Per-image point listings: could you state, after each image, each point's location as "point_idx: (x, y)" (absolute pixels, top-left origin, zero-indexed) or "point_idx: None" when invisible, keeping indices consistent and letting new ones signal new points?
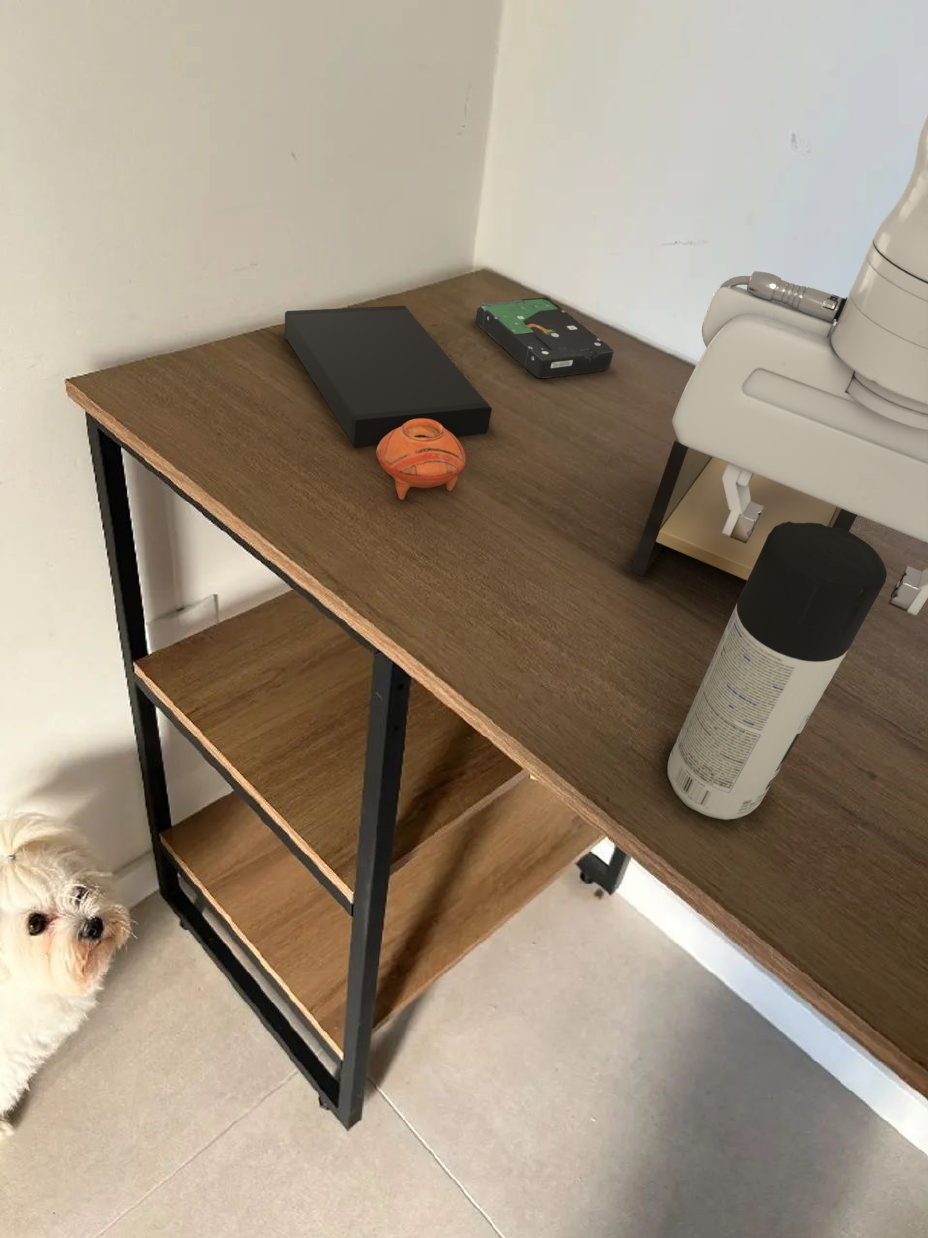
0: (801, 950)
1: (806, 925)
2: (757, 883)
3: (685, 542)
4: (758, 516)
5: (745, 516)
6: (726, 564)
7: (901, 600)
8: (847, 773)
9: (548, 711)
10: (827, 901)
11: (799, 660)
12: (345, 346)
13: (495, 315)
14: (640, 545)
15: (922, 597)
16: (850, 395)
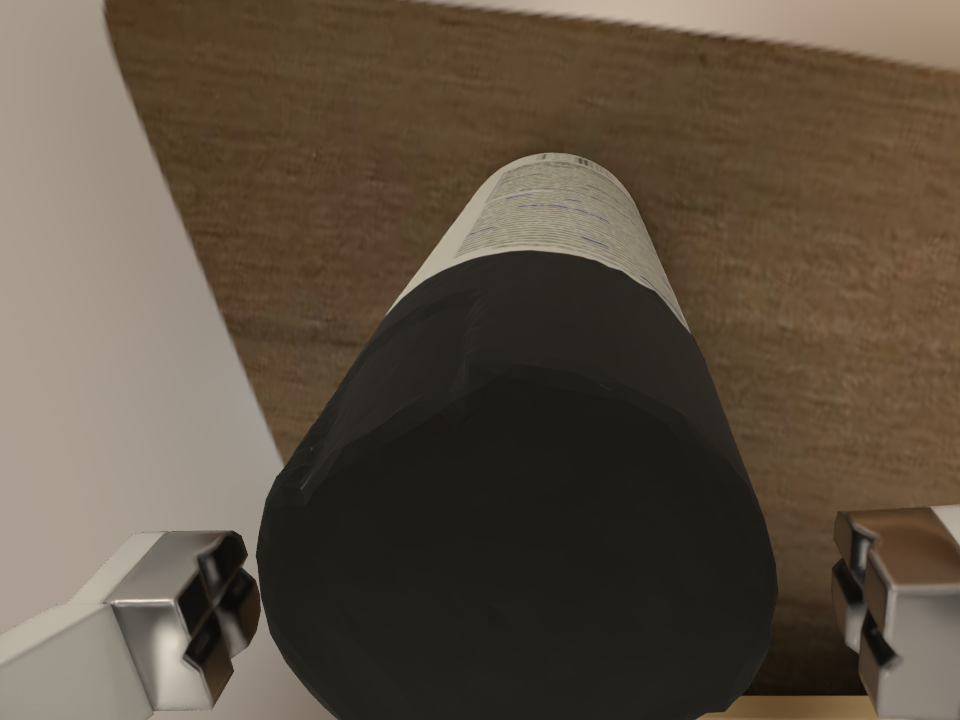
0: (283, 9)
1: (298, 66)
2: (397, 87)
3: (846, 717)
4: (885, 634)
5: (956, 590)
6: (744, 708)
7: (181, 547)
8: None
9: (903, 182)
10: (294, 140)
11: (446, 268)
12: None
13: None
14: None
15: (101, 582)
16: None
